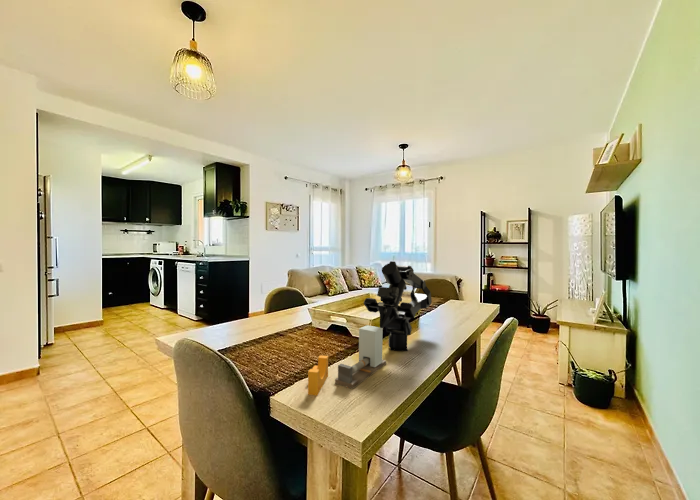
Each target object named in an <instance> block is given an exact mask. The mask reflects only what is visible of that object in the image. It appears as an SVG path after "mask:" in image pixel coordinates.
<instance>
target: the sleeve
mask: <svg viewBox="0 0 700 500" xmlns="http://www.w3.org/2000/svg"><path fill="white" fill-rule="evenodd" d="M383 330H384V328H380V326H379V327H378V326H374V325H373V326H372V325H368V324H367V325H364V326H362V327H359V328H358V362H359V361H361V360H363V359H365V358H366V357H369V358H370V366H371V367H376V366H378V365H379V364H381V363H382V360H383Z"/></svg>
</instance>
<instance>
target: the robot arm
mask: <svg viewBox="0 0 700 500" xmlns="http://www.w3.org/2000/svg"><path fill="white" fill-rule="evenodd" d="M414 272H415V271H414V268H413V267H412V266H411V265H406V264H405V265H403V264H397V263H396V261H394V260H391V261H390V260H389V263H387V264H385V265H384V266H383V267H382V268H381V273H382V275H383V277H384V278H385V279H384V280H386V281H385V282H386V283H387V284H389V286H388V287H385V286H383V287H382V286H379V287H378V289H377V294H376V296H377V297H380V299H379V300H380V301H377V299H376V298H370V297H366V298H365V299H364V300H363V304H364V306H365V308H366V310H367V311H368V312H370V313H379V327H380V328H383V329H384V328H385V331H386V333H389V334H388V348H389V349H390V351H391V352H408V351H409V349H408V336H411V333H412V331H413V330H412V328H413V327H412V325H411V323H410V322H409V321H410V320H411V319H415V317H416V314H417V313H418V312H419V311H420V310H422V309H427V308H429V307H430V306H431V304H432V302H433V300H432V293H431V290H430V289H429V288H428V286H427V284H426V281H425V280H424V279H422V278H420V276H419V275H417V274H416V273H414ZM407 284H408V285H410V286H412V290H411V292H410V294H409V295H410V300H411V301H410V302H404V301H403V298H402V297H403V294H404V291H407V290H408V289H407ZM415 289H420V290H422V292H423V293H419V292H418V293H417V292H415Z"/></svg>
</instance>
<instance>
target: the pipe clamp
mask: <svg viewBox="0 0 700 500" xmlns="http://www.w3.org/2000/svg"><path fill="white" fill-rule="evenodd" d="M328 378H329V355H319V356H318V358H317V365H316V364H314V365H313V366H312V368H310V369H309V370H308V372H307V395H308V396H315V397H317V396H318V395H319V393H320V391H321V390H322V388H323V386H324V384H325V383H326V381H327V380H328Z"/></svg>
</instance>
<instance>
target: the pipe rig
mask: <svg viewBox="0 0 700 500" xmlns="http://www.w3.org/2000/svg"><path fill="white" fill-rule="evenodd" d="M337 365H338V366H337V377H336V378H334V383H335V384H337V385H339V386H343V387H346V388H348V389H352V390H353V389H355V388H356V387H357V386H359V384H361V383H362V382H364V381H365V380H367V379H368V378H370V377H371V376H372V375H373V374H374V373H377V372H378V371H379V370H380V369H381V368H383V367H384V366H386V365H387V360H385V359H382V363H381V364H379V365H378V366H376V367H371V366H370V358H369V357H366V358H365V359H363V360H361V361H359V360H358V362H357V363H355V364H353V365H348V364H344V363H339V364H337Z"/></svg>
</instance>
